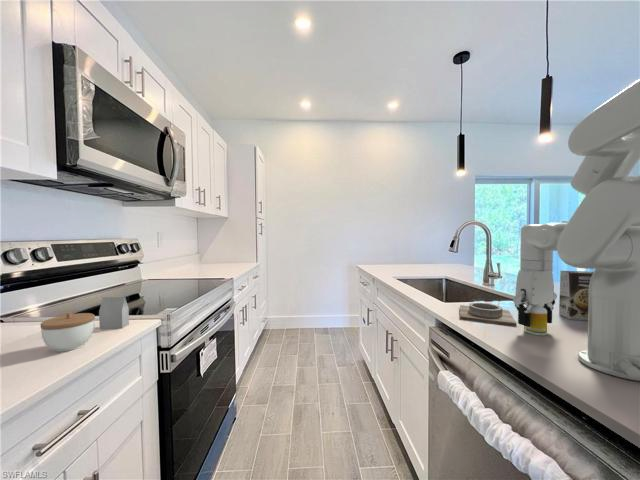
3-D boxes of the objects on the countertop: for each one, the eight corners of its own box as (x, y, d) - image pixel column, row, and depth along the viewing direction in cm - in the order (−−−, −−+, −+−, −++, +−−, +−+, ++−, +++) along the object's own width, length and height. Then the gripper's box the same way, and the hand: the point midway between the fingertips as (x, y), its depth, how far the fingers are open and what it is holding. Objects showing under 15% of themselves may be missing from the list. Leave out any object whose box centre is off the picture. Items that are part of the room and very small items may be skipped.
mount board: (516, 326, 86) (516, 315, 86) (460, 319, 94) (460, 309, 94) (508, 312, 100) (508, 303, 100) (460, 307, 108) (460, 299, 108)
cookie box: (570, 319, 92) (570, 272, 92) (558, 314, 98) (559, 270, 98) (602, 321, 90) (603, 273, 90) (588, 315, 96) (589, 270, 96)
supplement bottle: (551, 336, 78) (551, 303, 77) (530, 335, 79) (530, 302, 78) (540, 329, 83) (540, 298, 83) (520, 328, 84) (520, 297, 84)
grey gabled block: (122, 328, 88) (121, 297, 87) (99, 329, 87) (98, 298, 86) (129, 324, 91) (128, 295, 91) (107, 325, 90) (106, 296, 90)
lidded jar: (79, 353, 69) (78, 317, 69) (29, 358, 67) (28, 320, 67) (103, 337, 80) (102, 306, 79) (61, 341, 77) (60, 308, 77)
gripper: (542, 263, 87) (541, 316, 87) (502, 265, 81) (501, 322, 82) (570, 265, 79) (569, 324, 80) (527, 268, 74) (526, 331, 75)
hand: (535, 323), depth 81 cm, fingers open, 8 cm apart
